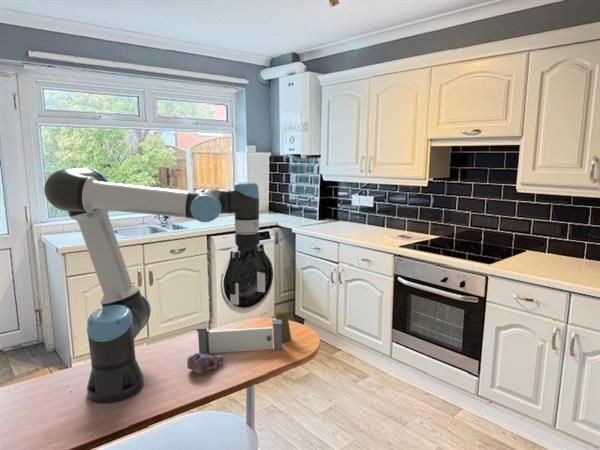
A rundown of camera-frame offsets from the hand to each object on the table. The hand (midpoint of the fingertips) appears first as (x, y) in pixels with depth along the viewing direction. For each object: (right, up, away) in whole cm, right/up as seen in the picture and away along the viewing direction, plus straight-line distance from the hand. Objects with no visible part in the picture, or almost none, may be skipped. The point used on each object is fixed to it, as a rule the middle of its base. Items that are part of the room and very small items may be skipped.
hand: (248, 297), depth 135 cm
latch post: (+9, -20, +12) cm, 25 cm away
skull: (-13, -23, -2) cm, 26 cm away
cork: (+10, -19, +19) cm, 29 cm away
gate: (-4, -20, +10) cm, 23 cm away
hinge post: (-16, -21, +9) cm, 28 cm away
